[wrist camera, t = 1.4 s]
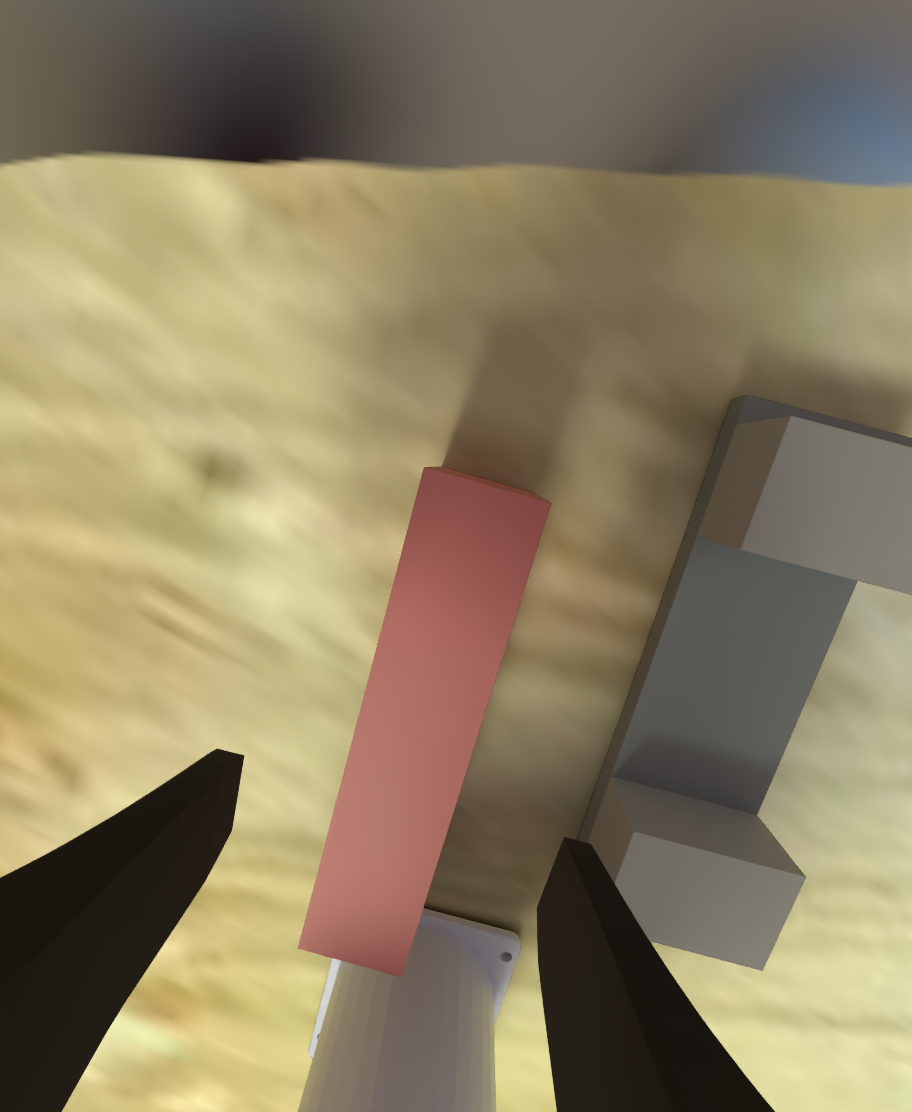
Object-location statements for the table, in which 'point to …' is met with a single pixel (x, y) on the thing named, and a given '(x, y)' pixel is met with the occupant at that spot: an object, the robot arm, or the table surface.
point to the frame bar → (421, 713)
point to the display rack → (743, 670)
